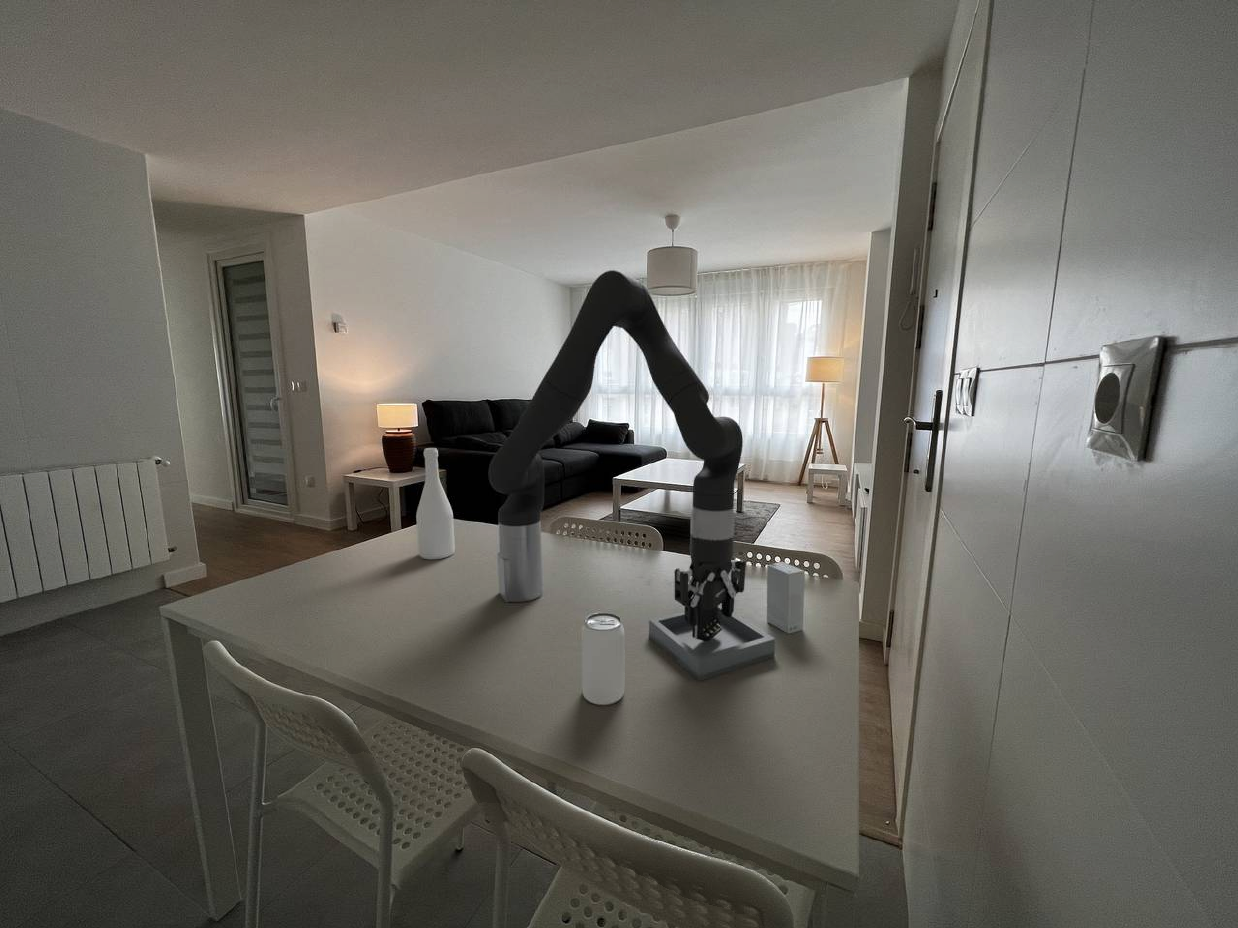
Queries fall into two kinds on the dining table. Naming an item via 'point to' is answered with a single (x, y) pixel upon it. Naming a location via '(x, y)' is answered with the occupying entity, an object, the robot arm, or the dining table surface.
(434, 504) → the wine bottle
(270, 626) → the dining table surface
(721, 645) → the tray
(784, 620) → the skincare box
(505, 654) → the dining table surface
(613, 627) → the can
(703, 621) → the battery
